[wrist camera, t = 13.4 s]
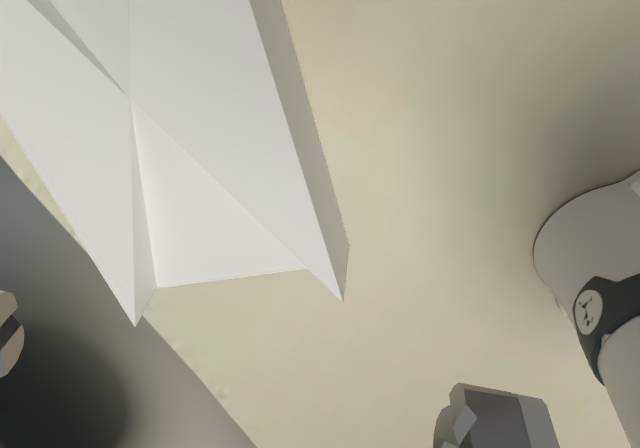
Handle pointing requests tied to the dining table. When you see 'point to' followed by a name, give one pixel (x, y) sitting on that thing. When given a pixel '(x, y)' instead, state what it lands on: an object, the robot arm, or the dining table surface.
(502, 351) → the dining table surface
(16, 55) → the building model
